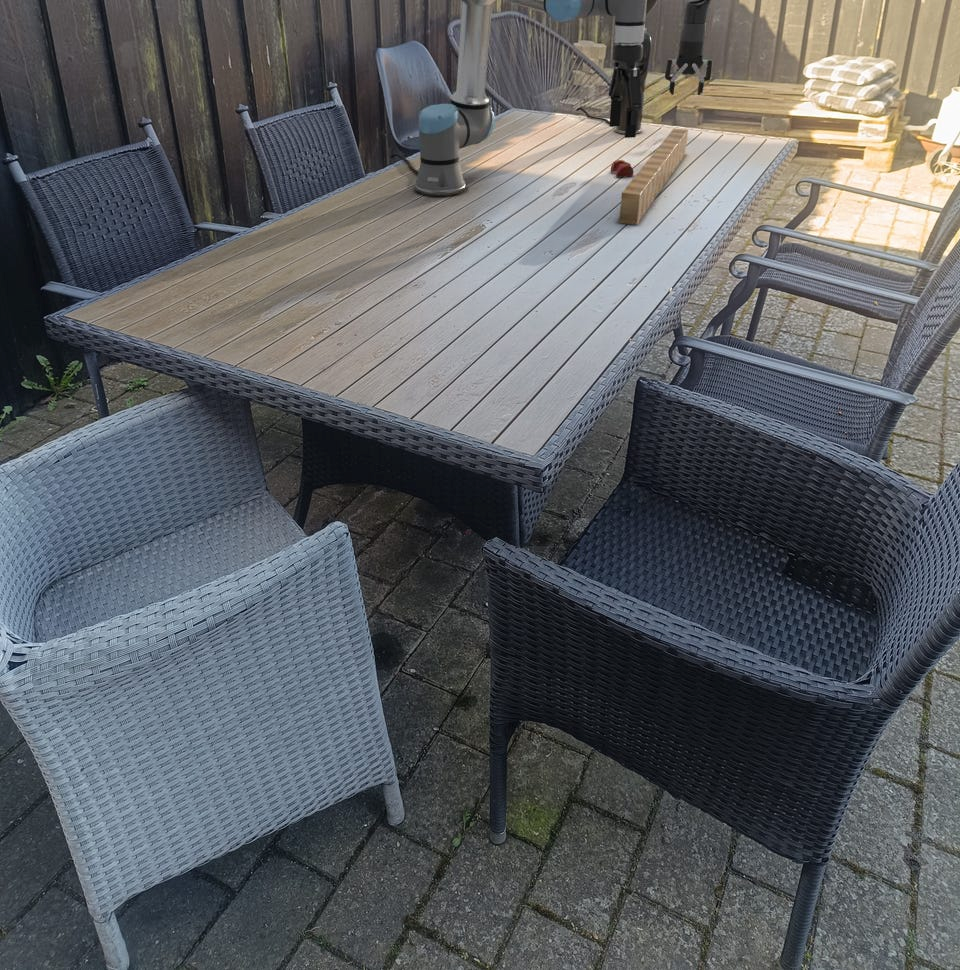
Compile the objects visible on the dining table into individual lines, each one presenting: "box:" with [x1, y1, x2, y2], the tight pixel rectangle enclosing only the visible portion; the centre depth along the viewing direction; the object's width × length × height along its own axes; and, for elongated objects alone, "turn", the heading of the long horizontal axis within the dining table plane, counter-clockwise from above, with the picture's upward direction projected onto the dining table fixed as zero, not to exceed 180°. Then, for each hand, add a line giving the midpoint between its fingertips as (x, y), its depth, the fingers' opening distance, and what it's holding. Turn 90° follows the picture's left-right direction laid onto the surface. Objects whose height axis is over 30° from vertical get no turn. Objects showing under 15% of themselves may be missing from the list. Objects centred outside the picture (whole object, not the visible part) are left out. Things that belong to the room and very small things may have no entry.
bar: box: [618, 128, 689, 226], centre depth 260 cm, size 78×5×8 cm, turn 159°
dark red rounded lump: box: [610, 159, 634, 178], centre depth 271 cm, size 6×4×8 cm
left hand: (622, 131), depth 227 cm, fingers open, 13 cm apart
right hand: (685, 94), depth 274 cm, fingers open, 8 cm apart
